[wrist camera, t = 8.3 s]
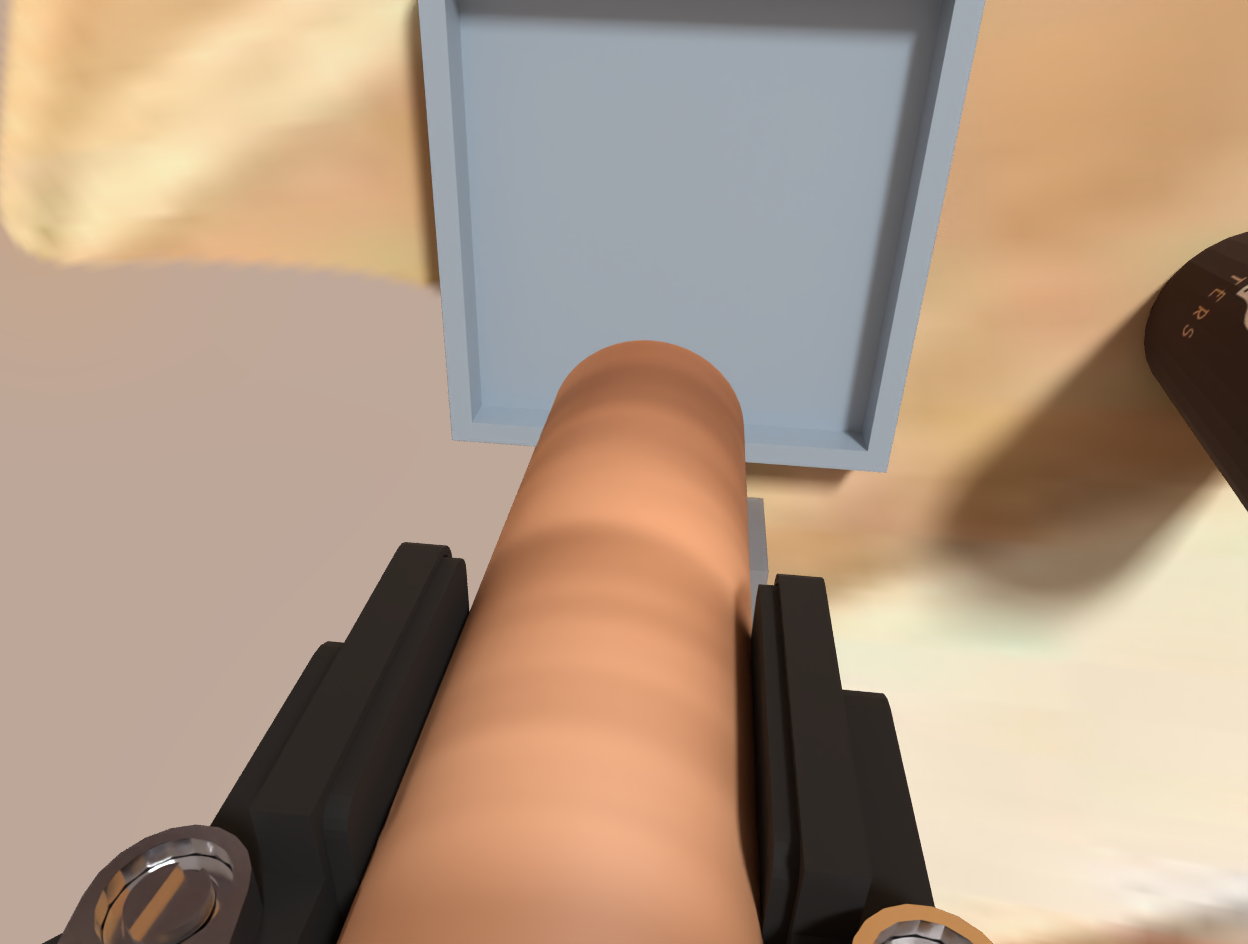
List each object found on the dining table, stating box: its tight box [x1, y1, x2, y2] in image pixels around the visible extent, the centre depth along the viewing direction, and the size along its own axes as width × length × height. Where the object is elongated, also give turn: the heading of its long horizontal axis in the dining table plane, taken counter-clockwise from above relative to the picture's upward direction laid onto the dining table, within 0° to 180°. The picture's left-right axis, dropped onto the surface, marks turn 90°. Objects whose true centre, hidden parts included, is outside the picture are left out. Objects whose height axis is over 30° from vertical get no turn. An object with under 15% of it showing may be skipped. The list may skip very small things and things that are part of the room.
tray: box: [418, 0, 985, 473], centre depth 29 cm, size 16×16×2 cm
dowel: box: [337, 340, 763, 944], centre depth 11 cm, size 4×4×12 cm
